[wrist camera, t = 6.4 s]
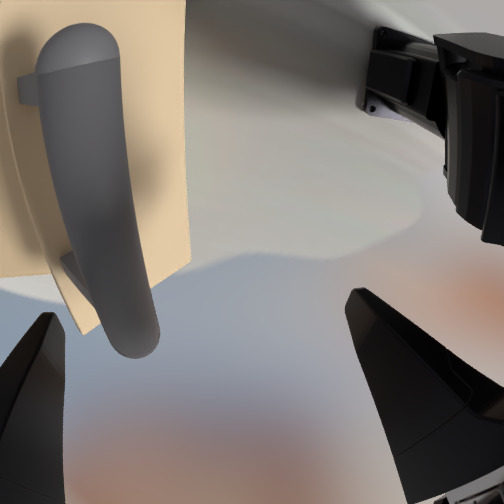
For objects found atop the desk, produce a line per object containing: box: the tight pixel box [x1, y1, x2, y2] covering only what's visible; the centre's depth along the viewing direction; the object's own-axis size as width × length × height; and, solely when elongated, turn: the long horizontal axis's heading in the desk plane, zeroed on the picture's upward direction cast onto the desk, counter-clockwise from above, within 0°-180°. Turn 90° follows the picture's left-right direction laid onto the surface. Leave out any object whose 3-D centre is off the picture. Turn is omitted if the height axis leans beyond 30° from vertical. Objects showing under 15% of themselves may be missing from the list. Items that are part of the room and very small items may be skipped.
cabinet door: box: [0, 0, 191, 359], centre depth 9 cm, size 7×14×5 cm
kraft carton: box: [0, 83, 52, 278], centre depth 13 cm, size 14×14×6 cm
